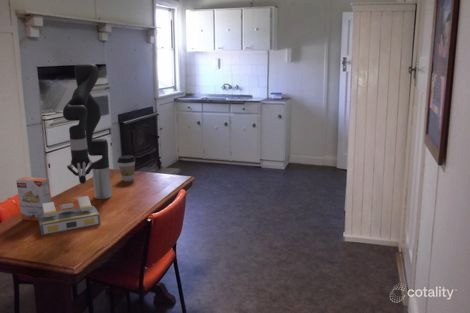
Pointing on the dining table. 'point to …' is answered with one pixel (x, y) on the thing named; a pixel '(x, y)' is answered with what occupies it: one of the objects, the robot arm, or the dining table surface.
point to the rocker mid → (67, 206)
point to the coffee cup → (127, 167)
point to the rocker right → (84, 203)
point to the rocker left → (49, 209)
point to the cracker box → (33, 196)
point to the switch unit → (68, 220)
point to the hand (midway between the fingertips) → (82, 183)
